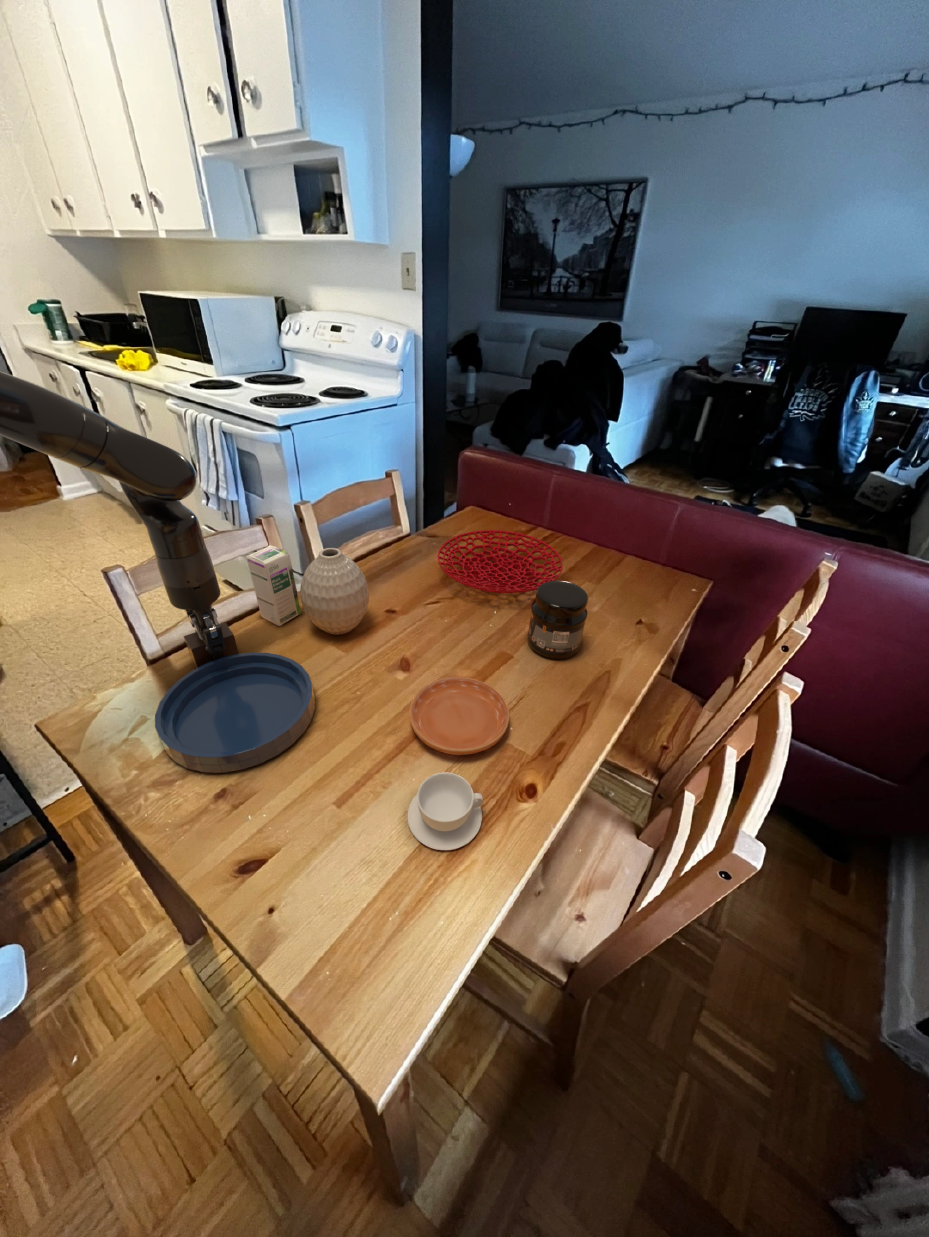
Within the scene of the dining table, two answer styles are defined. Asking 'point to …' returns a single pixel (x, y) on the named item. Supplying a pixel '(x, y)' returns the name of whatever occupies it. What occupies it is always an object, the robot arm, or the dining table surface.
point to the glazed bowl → (235, 712)
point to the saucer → (459, 715)
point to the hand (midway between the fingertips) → (214, 656)
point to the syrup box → (274, 584)
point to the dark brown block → (198, 646)
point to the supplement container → (557, 619)
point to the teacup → (445, 812)
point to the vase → (334, 592)
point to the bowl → (499, 563)
